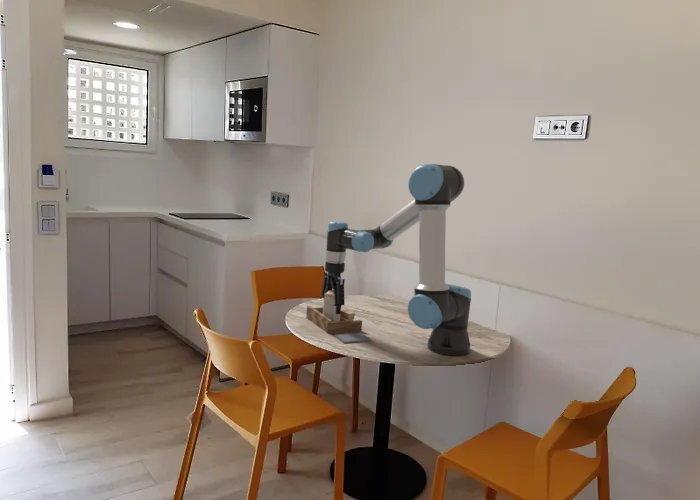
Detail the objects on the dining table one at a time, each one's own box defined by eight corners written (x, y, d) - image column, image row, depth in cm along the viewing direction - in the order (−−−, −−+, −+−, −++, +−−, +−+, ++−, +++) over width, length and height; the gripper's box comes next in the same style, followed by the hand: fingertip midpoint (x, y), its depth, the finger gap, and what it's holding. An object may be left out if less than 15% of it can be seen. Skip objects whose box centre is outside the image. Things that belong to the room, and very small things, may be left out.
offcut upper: (354, 319, 222) (354, 313, 222) (348, 320, 220) (348, 313, 220) (343, 314, 228) (343, 308, 227) (337, 315, 226) (337, 309, 225)
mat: (371, 341, 205) (371, 339, 205) (344, 343, 200) (344, 341, 200) (361, 334, 212) (361, 332, 212) (334, 336, 207) (334, 334, 207)
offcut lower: (352, 327, 221) (353, 320, 221) (345, 328, 220) (345, 320, 219) (342, 321, 229) (342, 313, 229) (335, 321, 228) (335, 314, 227)
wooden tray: (361, 331, 216) (362, 318, 215) (327, 333, 210) (328, 320, 209) (337, 315, 235) (338, 304, 234) (306, 317, 229) (307, 305, 228)
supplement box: (334, 328, 218) (336, 294, 216) (322, 326, 218) (324, 293, 216) (338, 322, 226) (341, 290, 224) (327, 320, 226) (329, 288, 224)
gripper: (356, 267, 210) (352, 325, 214) (332, 256, 230) (328, 310, 233) (338, 267, 207) (334, 326, 210) (315, 256, 226) (311, 311, 230)
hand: (331, 318), depth 222 cm, fingers closed on supplement box, 9 cm apart
